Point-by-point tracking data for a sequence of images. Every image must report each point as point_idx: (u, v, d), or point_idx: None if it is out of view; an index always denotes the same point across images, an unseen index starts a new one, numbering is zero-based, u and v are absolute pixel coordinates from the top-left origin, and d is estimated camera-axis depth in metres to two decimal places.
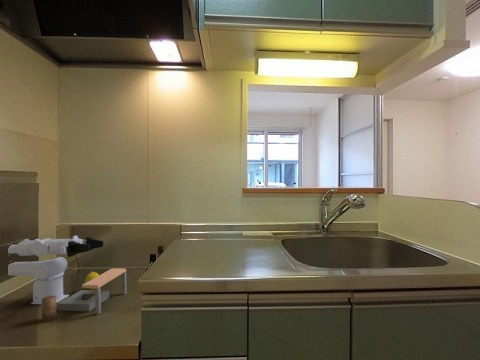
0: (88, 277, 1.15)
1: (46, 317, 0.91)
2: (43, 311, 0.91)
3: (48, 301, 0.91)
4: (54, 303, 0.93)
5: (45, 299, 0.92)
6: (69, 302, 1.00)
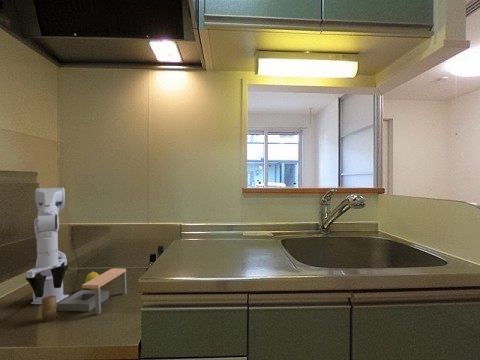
0: (88, 277, 1.15)
1: (46, 317, 0.91)
2: (43, 311, 0.91)
3: (48, 301, 0.91)
4: (54, 303, 0.93)
5: (45, 299, 0.92)
6: (69, 302, 1.00)
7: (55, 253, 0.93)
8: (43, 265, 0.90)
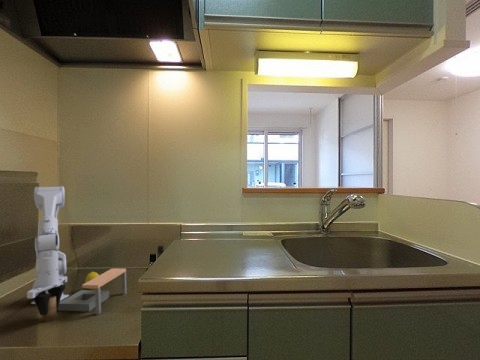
0: (88, 277, 1.15)
1: (46, 317, 0.91)
2: None
3: None
4: (54, 303, 0.93)
5: None
6: (69, 302, 1.00)
7: (56, 272, 0.93)
8: (44, 285, 0.90)
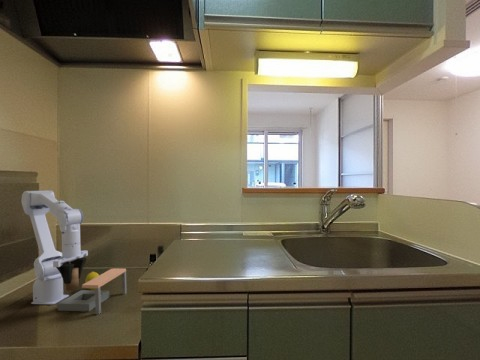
0: (88, 277, 1.15)
1: (69, 286, 0.98)
2: None
3: None
4: (77, 273, 1.00)
5: None
6: (69, 302, 1.00)
7: (78, 245, 1.00)
8: (67, 256, 0.98)
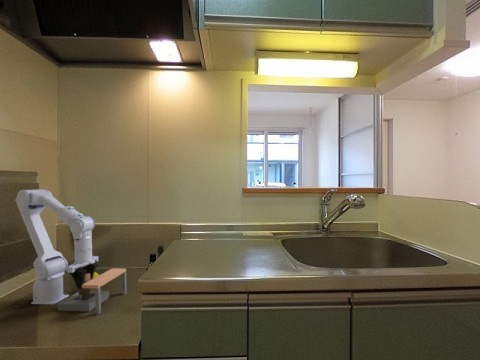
0: None
1: (82, 290, 1.02)
2: None
3: None
4: (89, 278, 1.04)
5: None
6: (69, 302, 1.00)
7: (90, 251, 1.04)
8: (80, 262, 1.02)
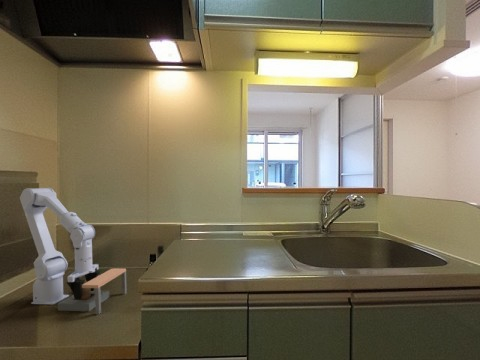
0: None
1: None
2: None
3: None
4: (89, 289, 1.04)
5: None
6: (69, 302, 1.00)
7: (90, 260, 1.04)
8: (80, 271, 1.02)
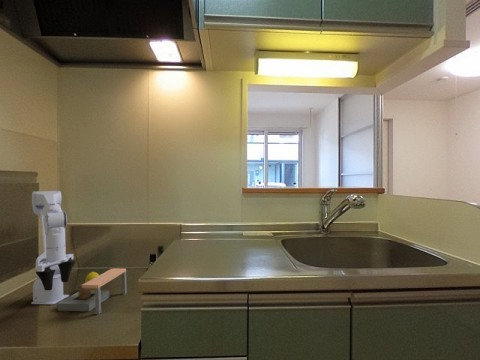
0: (88, 277, 1.15)
1: None
2: (80, 296, 1.03)
3: None
4: (89, 289, 1.04)
5: (81, 285, 1.03)
6: (69, 302, 1.00)
7: (63, 248, 0.97)
8: (52, 260, 0.95)
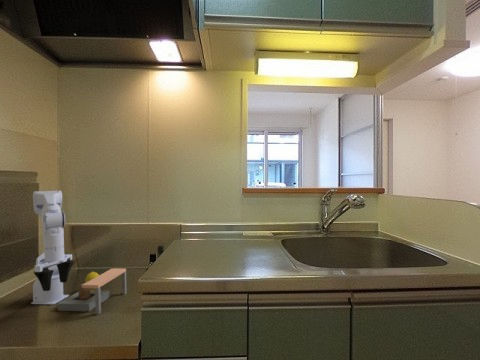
0: (88, 277, 1.15)
1: None
2: (80, 296, 1.03)
3: None
4: (89, 289, 1.04)
5: (81, 285, 1.03)
6: (69, 302, 1.00)
7: (61, 249, 0.97)
8: (50, 260, 0.94)
